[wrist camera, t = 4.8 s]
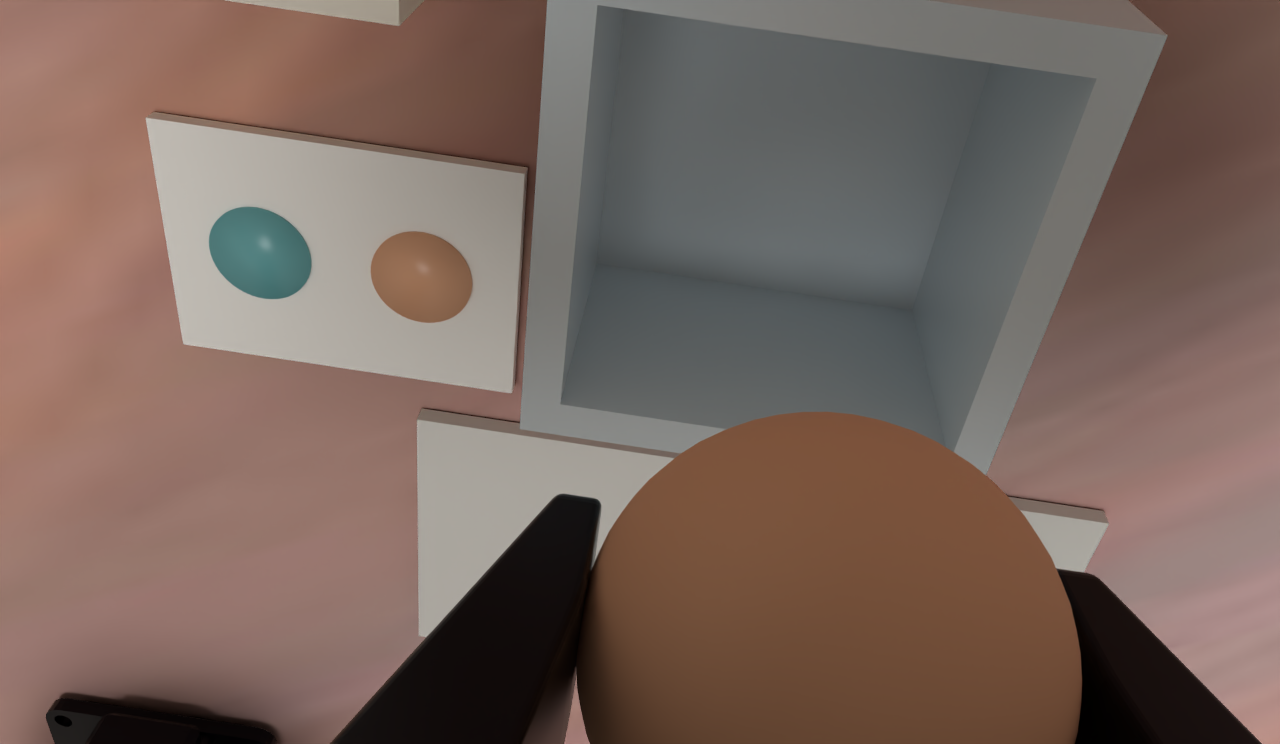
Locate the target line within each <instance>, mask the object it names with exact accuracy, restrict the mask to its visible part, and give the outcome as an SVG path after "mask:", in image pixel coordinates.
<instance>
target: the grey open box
mask: <svg viewBox="0 0 1280 744" xmlns="http://www.w3.org/2000/svg"><path fill="white" fill-rule="evenodd" d="M1167 36H1168V35H1167V34H1165V33H1164V32H1163V31H1162V30H1161V29H1160V28H1159V27H1158V26H1156V25H1155V24H1154V23H1153V22H1152V21H1151V20H1150V19H1149V18H1148V17H1146V16H1145V15H1144V14H1143V13H1142V12H1141V11H1140V10H1139V9H1137V8H1136V7H1135V6H1134V5H1133V4H1132V3H1131V2H1130V1H1128V0H547V14H546V29H545V45H544V60H543V75H542V91H541V106H540V122H539V137H538V153H537V168H536V183H535V199H534V214H533V230H532V245H531V260H530V276H529V291H528V307H527V322H526V338H525V353H524V368H523V384H522V399H521V415H520V429H522V430H529V431H535V432H542V433H549V434H555V435H562V436H569V437H575V438H582V439H589V440H595V441H602V442H608V443H615V444H622V445H628V446H635V447H642V448H648V449H655V450H662V451H668V452H675V453H682V452H684V451H686V450H687V449H689V448H690V447H692V446H694V445H695V444H697V443H698V442H700V441H702V440H704V439H706V438H709V437H711V436H713V435H715V434H717V433H719V432H721V431H724V430H726V429H729V428H731V427H734V426H737V425H740V424H743V423H746V422H749V421H752V420H755V419H760V418H765V417H769V416H774V415H779V414H788V413H797V412H836V413H846V414H854V415H859V416H864V417H869V418H874V419H878V420H882V421H885V422H888V423H891V424H894V425H898V426H901V427H904V428H907V429H910V430H913V431H915V432H917V433H919V434H921V435H924V436H926V437H928V438H930V439H932V440H934V441H936V442H938V443H940V444H941V445H943V446H944V447H946V448H948V449H949V450H951V451H952V452H954V453H956V454H957V455H959V456H960V457H962V458H963V459H965V460H966V461H968V462H969V463H971V464H973V465H974V466H975V467H976V468H977V469H979V470H980V471H981V472H982V473H983V474H985V475H986V474H987V472H988V469H989V467H990V464H991V462H992V460H993V457H994V455H995V452H996V450H997V447H998V445H999V443H1000V440H1001V438H1002V435H1003V433H1004V431H1005V428H1006V426H1007V423H1008V421H1009V418H1010V416H1011V414H1012V411H1013V409H1014V406H1015V404H1016V401H1017V399H1018V397H1019V394H1020V392H1021V389H1022V387H1023V385H1024V382H1025V380H1026V377H1027V375H1028V372H1029V370H1030V368H1031V365H1032V363H1033V360H1034V358H1035V356H1036V353H1037V351H1038V348H1039V346H1040V343H1041V341H1042V339H1043V336H1044V334H1045V331H1046V329H1047V327H1048V324H1049V322H1050V319H1051V317H1052V314H1053V312H1054V310H1055V307H1056V305H1057V302H1058V300H1059V297H1060V295H1061V293H1062V290H1063V288H1064V285H1065V283H1066V281H1067V278H1068V276H1069V273H1070V271H1071V268H1072V266H1073V264H1074V261H1075V259H1076V256H1077V254H1078V252H1079V249H1080V247H1081V244H1082V242H1083V239H1084V237H1085V235H1086V232H1087V230H1088V227H1089V225H1090V223H1091V220H1092V218H1093V215H1094V213H1095V210H1096V208H1097V206H1098V203H1099V201H1100V198H1101V196H1102V194H1103V191H1104V189H1105V186H1106V184H1107V181H1108V179H1109V177H1110V174H1111V172H1112V169H1113V167H1114V164H1115V162H1116V160H1117V157H1118V155H1119V152H1120V150H1121V148H1122V145H1123V143H1124V140H1125V138H1126V135H1127V133H1128V131H1129V128H1130V126H1131V123H1132V121H1133V119H1134V116H1135V114H1136V111H1137V109H1138V106H1139V104H1140V102H1141V99H1142V97H1143V94H1144V92H1145V90H1146V87H1147V85H1148V82H1149V80H1150V77H1151V75H1152V73H1153V70H1154V68H1155V65H1156V63H1157V60H1158V58H1159V56H1160V53H1161V51H1162V48H1163V46H1164V44H1165V41H1166V39H1167Z"/></svg>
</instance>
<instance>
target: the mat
mask: <svg viewBox="0 0 1280 744" xmlns="http://www.w3.org/2000/svg"><path fill="white" fill-rule="evenodd" d="M679 454H681V453H675V452H668V451H662V450H655V449H648V448H642V447H635V446H628V445H622V444H615V443H608V442H602V441H595V440H589V439H582V438H575V437H569V436H562V435H555V434H549V433H542V432H535V431H529V430H522V429H520V423H515V422H508V421H501V420H495V419H488V418H481V417H475V416H468V415H462V414H455V413H448V412H442V411H435V410H428V409H421V412H420V414H419V416H418V418H417V480H418V595H419V636H424V637H427V636H428V635H429V634H430V633H431V632H432V631H433V630H434V628H435V627H436V626H437V625H438V624H439V623H440V622H441V621H442V620H443V618H444V617H445V616H446V615H447V614H448V613H449V612H450V611H451V610H452V609H453V607H454V606H455V605H456V604H457V603H458V602H459V601H460V600H461V599H462V598H463V596H464V595H465V594H466V593H467V592H468V591H469V590H470V589H471V588H472V587H473V585H474V584H475V583H476V582H477V581H478V580H479V579H480V578H481V577H482V576H483V574H484V573H485V572H486V571H487V570H488V569H489V568H490V567H491V566H492V564H493V563H494V562H495V561H496V560H497V559H498V558H499V557H500V556H501V555H502V553H503V552H504V551H505V550H506V549H507V548H508V547H509V546H510V545H511V544H512V542H513V541H514V540H515V539H516V538H517V537H518V536H519V535H520V534H521V533H522V531H523V530H524V529H525V528H526V527H527V526H528V525H529V524H530V523H531V521H532V520H533V519H534V518H535V517H536V516H537V515H538V514H539V513H540V512H541V510H542V509H543V508H544V507H545V506H546V505H547V504H548V503H549V502H550V501H551V500H552V499H553V498H554V497H555V496H556V495H558V494H570V495H577V496H583V497H590V498H595V499H598V500H599V501H600V503H601V518H600V525H599V533H598V541H597V548H596V556H595V560H596V558H597V555H598V553H599V551H600V549H601V547H602V545H603V543H604V541H605V539H606V537H607V535H608V532H609V531H610V529H611V528H612V526H613V525H614V523H615V522H616V520H617V519H618V517H619V515H620V514H621V512H622V511H623V510H624V509H625V507H626V506H627V505H628V503H629V502H630V501H631V499H632V498H633V497H634V496H635V495H636V493H637V492H638V491H639V490H640V489H641V488H642V487H643V486H644V485H645V483H646V482H647V481H648V480H649V479H650V478H652V477H653V476H654V475H655V474H656V473H658V472H659V471H660V470H661V469H662V468H664V467H665V466H666V465H667V464H668V463H670V462H671V461H672V460H673V459H674V458H676V457H677V456H678V455H679ZM1008 498H1009V499H1010V500H1011V501H1012V502H1013V503H1014V504H1015V505H1016V507H1017V508H1018V509H1019V510H1020V511H1021V512H1022V513H1023V514H1024V516H1025V517H1026V519H1027V520H1028V522H1029V523H1030V525H1031V526H1032V528H1033V529H1034V531H1035V532H1036V534H1037V535H1038V537H1039V538H1040V540H1041V542H1042V543H1043V545H1044V546H1045V548H1046V550H1047V551H1048V553H1049V554H1050V556H1051V558H1052V560H1053V562H1054V565H1055V567H1056V568H1058V569H1064V570H1071V571H1077V572H1084V571H1085V569H1086V567H1087V565H1088V563H1089V561H1090V559H1091V557H1092V555H1093V554H1094V552H1095V550H1096V548H1097V546H1098V544H1099V542H1100V540H1101V538H1102V536H1103V534H1104V533H1105V531H1106V529H1107V527H1108V525H1109V522H1108V520H1107V517H1106V515H1105V513H1104V511H1100V510H1093V509H1087V508H1080V507H1073V506H1067V505H1060V504H1054V503H1047V502H1040V501H1034V500H1027V499H1020V498H1014V497H1008Z"/></svg>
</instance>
